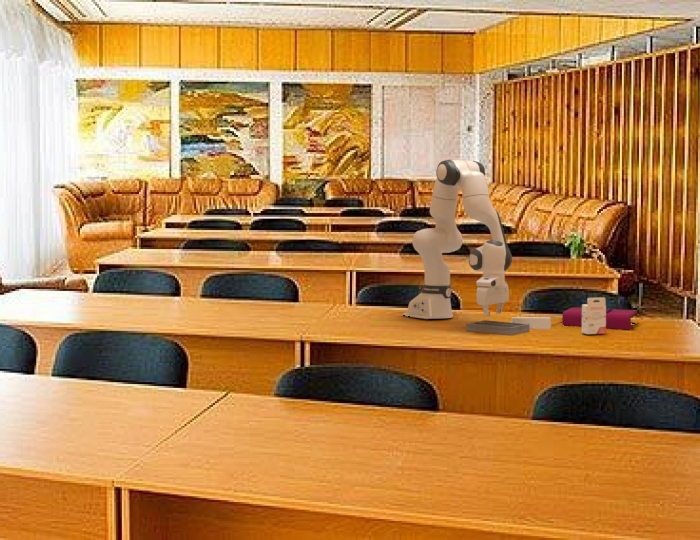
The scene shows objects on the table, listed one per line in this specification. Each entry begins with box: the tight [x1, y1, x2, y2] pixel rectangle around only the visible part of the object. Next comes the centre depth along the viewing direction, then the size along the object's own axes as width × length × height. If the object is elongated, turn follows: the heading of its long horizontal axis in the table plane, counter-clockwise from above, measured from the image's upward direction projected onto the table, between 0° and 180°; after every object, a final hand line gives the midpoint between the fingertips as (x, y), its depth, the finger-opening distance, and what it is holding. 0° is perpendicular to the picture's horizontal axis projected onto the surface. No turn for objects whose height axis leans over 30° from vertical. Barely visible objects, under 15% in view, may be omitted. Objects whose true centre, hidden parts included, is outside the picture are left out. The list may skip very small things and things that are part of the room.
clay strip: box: [510, 316, 552, 330], centre depth 443 cm, size 16×4×5 cm, turn 89°
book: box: [561, 306, 638, 331], centre depth 452 cm, size 21×28×8 cm
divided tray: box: [465, 319, 530, 336], centre depth 434 cm, size 21×15×3 cm
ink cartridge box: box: [581, 297, 607, 335], centre depth 429 cm, size 9×5×15 cm, turn 105°
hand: (492, 314), depth 431 cm, fingers open, 8 cm apart
